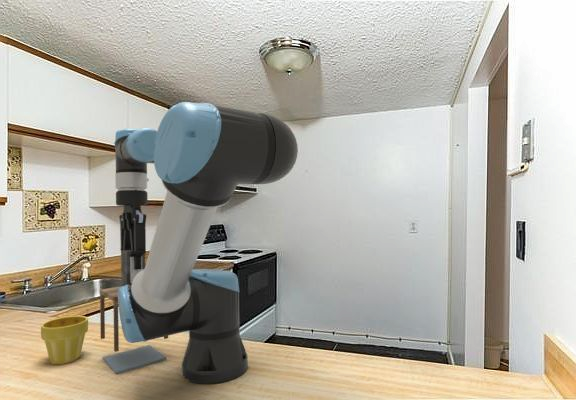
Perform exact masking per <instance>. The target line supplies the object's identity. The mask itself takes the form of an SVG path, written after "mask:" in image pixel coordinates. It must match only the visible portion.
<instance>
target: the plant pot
mask: <svg viewBox="0 0 576 400" xmlns="http://www.w3.org/2000/svg"><path fill="white" fill-rule="evenodd" d="M40 325H41V326H40V335H41V340H42V341H44V343H45V344H44V345H45V348H46V351H47V354H48V359H49V362H50V364H52V365H64V364H68V363H72V362H74V361H76V360H78V359H79V358H80V357H81V354H82V353H81V352H82V348H83V345H84V341H85V340H84V339H85V336H86V334H87V332H88V330H89V318H88V316H85V315H68V316H61V317H57V318H52V319H50V320H47V321H44V322H43V323H42V324H40Z"/></svg>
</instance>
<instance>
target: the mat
mask: <svg viewBox="0 0 576 400" xmlns="http://www.w3.org/2000/svg"><path fill="white" fill-rule="evenodd" d="M167 357H168V356H165V355H164V354H163V353H161V352H160V351H158V349H156V348H154V347H153V346H152V345H150V344H148V345H144V346H139V347H136V348H132V349H128V350H125V351H121V352H117V353H116V352H115V353H113V354H109V355H106V356H102V359H101V360H103V361H104V363H105V364H106V365H107V366H108V367H109V369H111V370H112V372H113V373H115V375H118V374H122V373H125V372H128V371H132V370H135V369H139V368H143V367H145V366H148V365H151V364H155V363H158V362H162V361H165V360H167V359H168V358H167Z"/></svg>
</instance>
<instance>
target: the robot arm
mask: <svg viewBox="0 0 576 400" xmlns="http://www.w3.org/2000/svg"><path fill="white" fill-rule="evenodd" d="M157 128H158V129H157V130H156V129H154V128H151V127H142V128H139V129H136V128H123V129H118V130H117V131H116V132H115V139H114V140H115V141H114V147H115V148H114V150H115V174H114V175H115V179H114V180H115V181H114V182H115V189H116V192H115V205H116V206H123V211H122V213H121V214H119V217H118V218H119V224H120V226H119V230H120V231H119V234H120V235H119V236H120V238H119V239H120V250H119V251H121V250H131V252H132V254H130V255H129V257H130V281H131V283H132V285H125V286H122V287H121V286H119V287H120V288H119V290H118V315H119V319H120V320H119V321H120V324H121V330H122V334H123V337H124V339H125V340H126V341H127V342H128V343H130V344H134V343H140V342H144V343H145V342H148V341H151V340H156V339H161V338H164V336H168V337H169V336H172V335H176V334H180V333H184V332H188V335H189V336H188V337H189V338H188V342H187V345H186V349H185V352H184V355H183V359H182V363H181V375H182V377H183V378H184V379H185V380H187V381H189V382H192V383H195V384H205V385H206V384H208V385H209V384H219V383H224V382H228V381H231V380H234V379H236V378H239V377H240V376H242V375H243V374H244V373H245V372H246V371H247V370H248V368H249V366H248V365H249V363H248V361H249V360H248V354H247V352H246V348H245V345H244V342H243V340H242V336H241V334H240V333H241V332H240V331H241V330H240V294H239V293H240V287H239V279H238V276H237V274H236V273H234V272H232V271H229V270H224V269H222V270H221V269H213V268H212V269H211V268H195V264H196V263H197V259H198V257H199V254H200V252H201V249H202V247H203V244H204V242H205V240H206V237H207V235H208V232H209V230H210V228H211V225H212V222H213V220H214V217H215V214H216V212H217V210H218V208H219V207H223V206H225V205H226V204H228V203H229V202H230V201H231V199H232V198H233V196H234V193H235V191H236V188H237V186H238V185H268V184H271V183H275V182H277V181H280V180H282V179H284V177H286V176H287V175H288V174H289V173H290V172H291V171H292V170H293V168H294V166H295V164H296V161H297V159H298V152H299V151H298V150H299V149H298V148H299V147H298V142H297V138H296V136H295V134H294V132H293V131H292V129H291V128H290V126H288V124H286V122H284V121H283V120H281V119H279V118H278V117H276V116H273V115H271V114H268V113H263V112H254V111H247V110H244V109H236V108H229V107H225V106H220V105H219V106H218V105H214V104H212V103H208V102H199V103H198V102H189V101H182V102H178V103H177V104H175V105H173V106H171V107H170V108H169V109H168V110H167V111H166V113H165V114H164V116H163V117H162V119H161V121H160V123H159V125H158V127H157ZM148 164H154V170H155V172H156V175H157V177H158V178H160V179H161V184H162V185H163V187H164V189H165V190H166V193H165V197H164V202H163V204H162V208H161V211H160V215H159V218H158V222H157V225H156V228H155V233H154V236H153V239H152V242H151V245H150V250H149V253H148V256H147V259H146V261H145V269H143V270H142V256H143V254H145V255H146V253H147V249H146V247H147V244H146V243H147V241H146V240H147V239H146V236H147V235H146V223H147V214H146V213H145V214H144V213H143V212H142V207H141V206H147V205H148V200H149V199H148V192H147V191H146V190H147V188H148V182H149V179H150V178H149V177H148Z"/></svg>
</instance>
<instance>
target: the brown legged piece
mask: <svg viewBox="0 0 576 400" xmlns="http://www.w3.org/2000/svg"><path fill="white" fill-rule="evenodd" d="M130 254H132V252H131V250H120V270H121V271H120V274H121V275H120V279H121V286H115V287H109V288H103V289H100V290H99V296H100V297H99V298H100V300H99V301H100V302H99V304H100V305H99V306H100V307H99V309H100V310H99V312H100V313H99V315H100V316H99V318H100V321H99V322H100V339H101V340H103V339H106V330H105V328H106V325H105V324H106V321H105V320H106V318H105V313H106V312H105V309H106V308H105V298H107V299H109V300H111V301H112V302H113V305H112V306H113V352H114V353H116V352H117V353H118V352H119V351H120V347H119V340H120V339H119V338H120V337H119V333H120V332H119V305H118V290H119V288H120V287H122V286H125V285H132V283H131V281H130V257H129V255H130ZM145 266H146V253H145V254H143V256H142V270H143V269H145ZM163 339H164V340H166V339H169V336H164V337H163Z"/></svg>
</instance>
